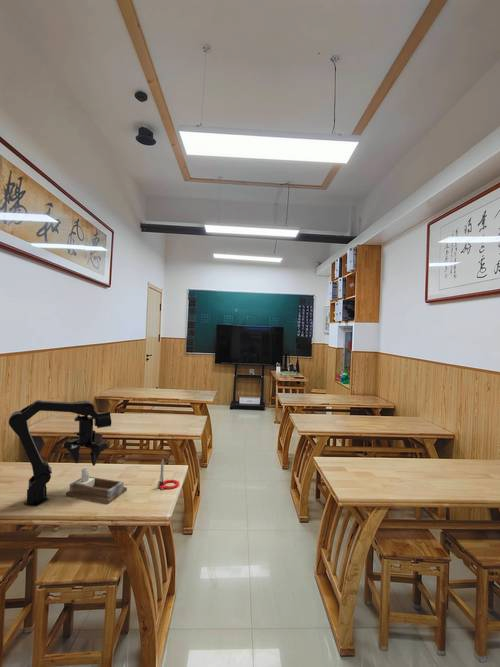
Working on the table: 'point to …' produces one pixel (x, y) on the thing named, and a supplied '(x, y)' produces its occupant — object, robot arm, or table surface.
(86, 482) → the keeper
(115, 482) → the brown tray
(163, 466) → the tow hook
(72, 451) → the robot arm
